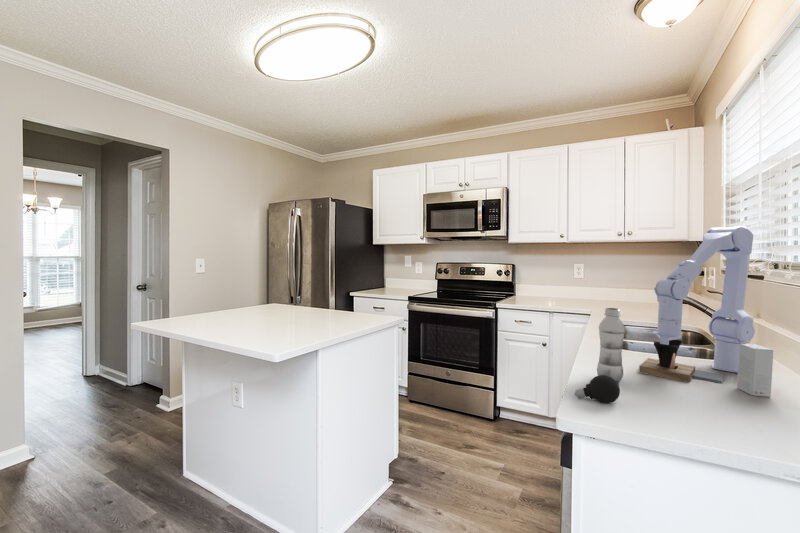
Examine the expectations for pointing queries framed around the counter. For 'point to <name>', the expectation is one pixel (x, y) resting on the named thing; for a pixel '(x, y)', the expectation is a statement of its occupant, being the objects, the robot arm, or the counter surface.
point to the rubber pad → (708, 376)
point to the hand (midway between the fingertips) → (667, 364)
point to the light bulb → (600, 389)
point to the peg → (672, 362)
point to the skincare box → (755, 369)
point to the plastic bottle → (611, 345)
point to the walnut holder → (667, 370)
